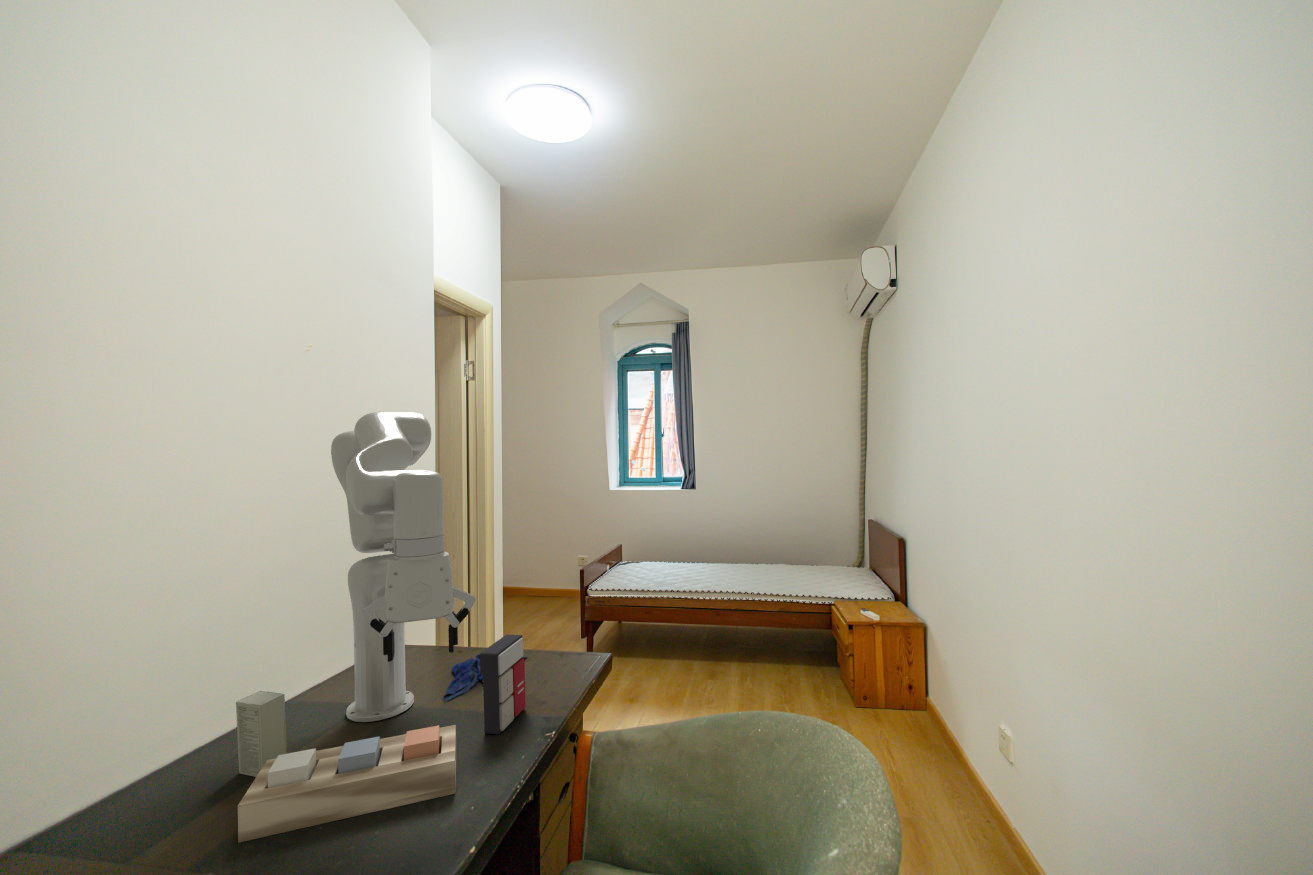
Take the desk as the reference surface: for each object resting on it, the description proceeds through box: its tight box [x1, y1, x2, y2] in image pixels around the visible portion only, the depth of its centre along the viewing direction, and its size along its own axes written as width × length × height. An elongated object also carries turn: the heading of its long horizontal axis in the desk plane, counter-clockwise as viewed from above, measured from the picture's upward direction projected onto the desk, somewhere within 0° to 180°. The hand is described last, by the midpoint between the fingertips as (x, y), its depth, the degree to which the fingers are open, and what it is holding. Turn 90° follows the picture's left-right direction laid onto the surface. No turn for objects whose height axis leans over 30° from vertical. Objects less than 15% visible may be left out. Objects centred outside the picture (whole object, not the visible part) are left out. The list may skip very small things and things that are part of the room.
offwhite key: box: [268, 747, 317, 788], centre depth 82 cm, size 5×5×3 cm
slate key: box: [338, 736, 381, 774], centre depth 85 cm, size 5×5×3 cm
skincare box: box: [235, 690, 288, 778], centre depth 93 cm, size 6×4×12 cm
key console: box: [237, 724, 457, 844], centre depth 85 cm, size 12×28×5 cm, turn 110°
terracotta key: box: [404, 725, 441, 761], centre depth 88 cm, size 5×5×3 cm
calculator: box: [479, 634, 526, 735], centre depth 107 cm, size 11×4×15 cm, turn 168°
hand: (421, 653), depth 89 cm, fingers open, 8 cm apart
